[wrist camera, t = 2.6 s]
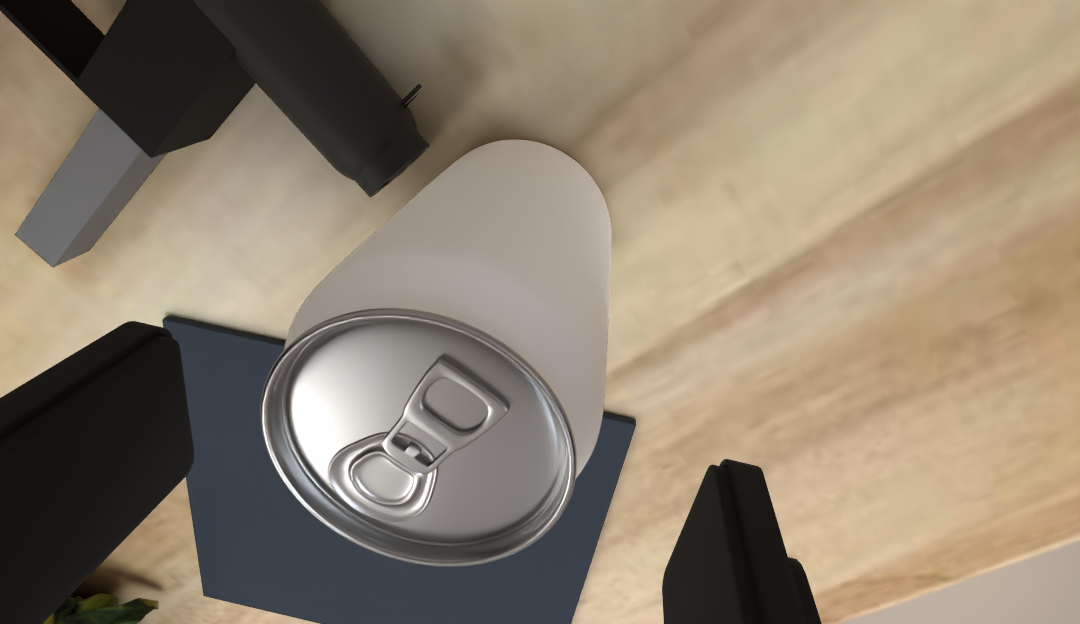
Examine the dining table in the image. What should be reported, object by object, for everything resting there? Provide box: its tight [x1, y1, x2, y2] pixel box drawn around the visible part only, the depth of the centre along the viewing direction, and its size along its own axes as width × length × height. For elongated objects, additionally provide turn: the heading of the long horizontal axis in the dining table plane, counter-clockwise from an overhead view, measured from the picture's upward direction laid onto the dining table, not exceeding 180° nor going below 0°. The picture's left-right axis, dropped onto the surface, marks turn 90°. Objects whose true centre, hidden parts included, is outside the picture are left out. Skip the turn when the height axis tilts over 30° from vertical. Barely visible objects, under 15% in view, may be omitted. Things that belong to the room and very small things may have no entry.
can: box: [261, 140, 611, 566], centre depth 15 cm, size 6×6×12 cm
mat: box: [163, 316, 636, 624], centre depth 28 cm, size 20×18×1 cm
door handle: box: [0, 0, 430, 267], centre depth 18 cm, size 3×20×16 cm
